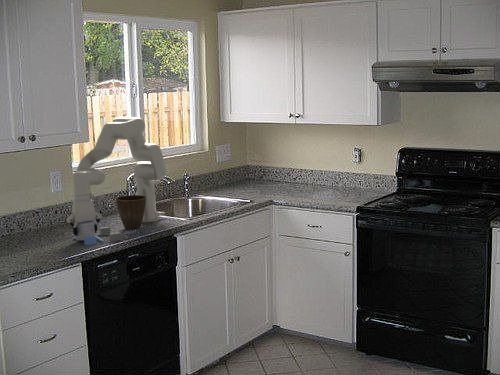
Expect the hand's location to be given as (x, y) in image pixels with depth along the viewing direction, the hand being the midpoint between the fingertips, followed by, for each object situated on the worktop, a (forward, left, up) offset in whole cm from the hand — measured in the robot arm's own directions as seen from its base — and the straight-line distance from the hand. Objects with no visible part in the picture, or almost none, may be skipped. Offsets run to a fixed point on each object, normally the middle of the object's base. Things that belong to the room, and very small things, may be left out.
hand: (85, 233), depth 332 cm
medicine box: (0, 0, -3) cm, 3 cm away
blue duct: (-2, 0, -3) cm, 4 cm away
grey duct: (-14, 0, -3) cm, 14 cm away
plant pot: (-28, -12, -4) cm, 30 cm away
